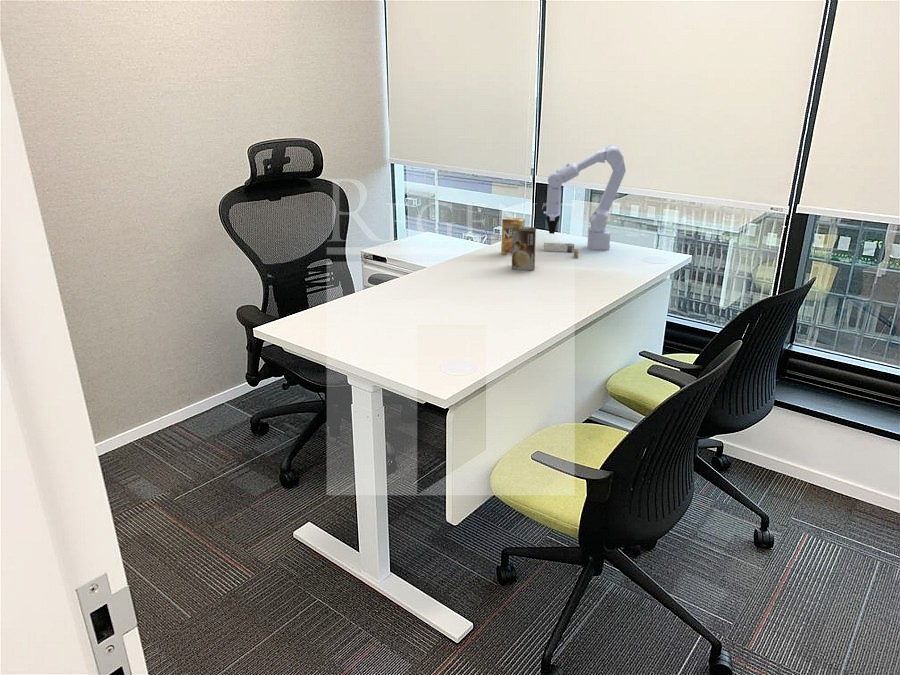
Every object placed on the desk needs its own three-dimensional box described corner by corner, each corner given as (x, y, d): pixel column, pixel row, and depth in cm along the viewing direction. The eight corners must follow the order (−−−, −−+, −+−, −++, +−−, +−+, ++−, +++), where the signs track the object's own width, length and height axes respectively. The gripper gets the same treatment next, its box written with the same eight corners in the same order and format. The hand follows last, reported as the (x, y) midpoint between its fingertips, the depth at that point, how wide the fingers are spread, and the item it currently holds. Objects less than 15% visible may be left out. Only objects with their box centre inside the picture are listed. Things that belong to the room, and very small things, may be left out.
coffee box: (535, 266, 288) (537, 227, 281) (534, 270, 282) (536, 231, 275) (512, 264, 289) (513, 226, 283) (511, 269, 283) (512, 230, 277)
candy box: (500, 254, 302) (501, 219, 296) (503, 251, 306) (504, 216, 300) (521, 256, 299) (522, 220, 293) (523, 253, 303) (525, 218, 297)
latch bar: (573, 250, 303) (574, 243, 302) (573, 252, 300) (574, 246, 299) (543, 248, 305) (544, 242, 304) (543, 251, 302) (543, 244, 301)
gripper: (545, 197, 308) (543, 228, 313) (543, 205, 295) (541, 237, 300) (561, 198, 307) (559, 229, 312) (560, 206, 294) (558, 238, 299)
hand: (551, 233), depth 306 cm, fingers closed
